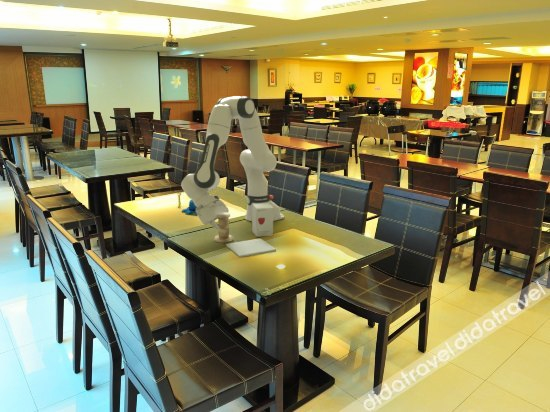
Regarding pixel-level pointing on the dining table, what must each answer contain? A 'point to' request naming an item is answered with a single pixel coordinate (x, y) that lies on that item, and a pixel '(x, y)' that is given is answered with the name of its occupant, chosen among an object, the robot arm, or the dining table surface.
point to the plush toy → (190, 209)
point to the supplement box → (262, 220)
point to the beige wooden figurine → (223, 228)
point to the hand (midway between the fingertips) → (223, 225)
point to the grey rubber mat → (250, 247)
